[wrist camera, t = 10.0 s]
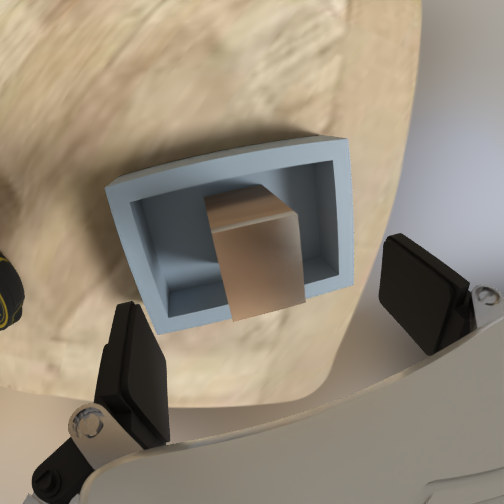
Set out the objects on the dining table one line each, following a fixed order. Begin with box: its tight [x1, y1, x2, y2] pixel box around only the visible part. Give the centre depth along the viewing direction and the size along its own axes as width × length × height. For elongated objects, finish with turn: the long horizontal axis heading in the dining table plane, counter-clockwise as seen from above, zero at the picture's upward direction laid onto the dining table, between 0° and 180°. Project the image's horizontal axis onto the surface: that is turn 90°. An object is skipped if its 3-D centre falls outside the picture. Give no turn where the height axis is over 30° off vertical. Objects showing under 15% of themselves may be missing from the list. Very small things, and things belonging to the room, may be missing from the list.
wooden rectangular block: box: [204, 185, 306, 322], centre depth 18 cm, size 5×4×7 cm
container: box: [105, 135, 354, 335], centre depth 20 cm, size 10×14×4 cm
